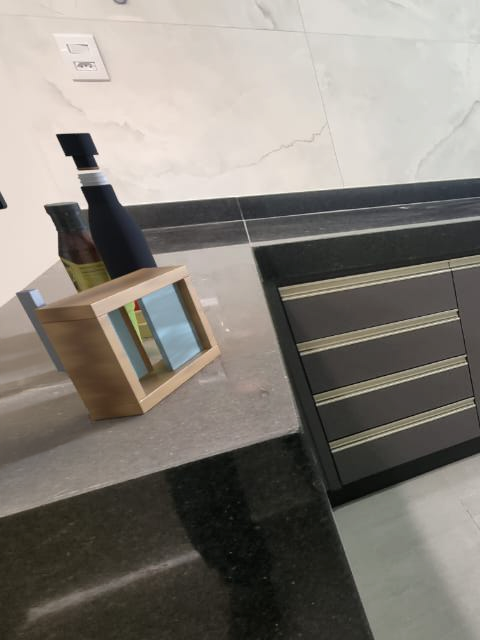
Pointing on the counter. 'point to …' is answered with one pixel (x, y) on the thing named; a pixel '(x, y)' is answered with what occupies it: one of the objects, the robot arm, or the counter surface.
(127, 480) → the counter surface
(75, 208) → the sauce bottle
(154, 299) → the window frame
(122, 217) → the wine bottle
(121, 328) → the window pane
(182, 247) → the counter surface
